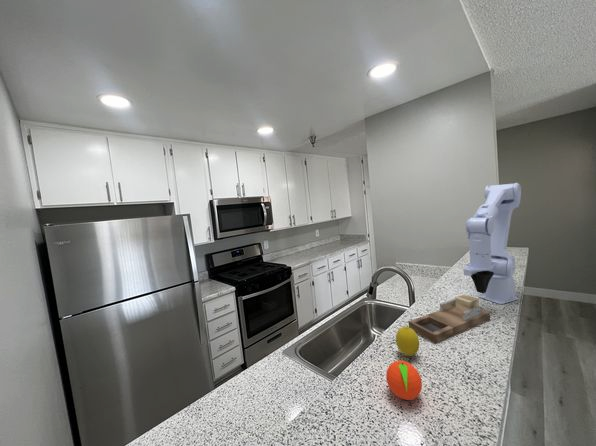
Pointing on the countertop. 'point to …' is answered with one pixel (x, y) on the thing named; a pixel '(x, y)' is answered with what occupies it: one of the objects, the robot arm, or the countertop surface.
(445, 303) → the channel walls
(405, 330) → the lemon
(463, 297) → the maple block
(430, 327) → the board
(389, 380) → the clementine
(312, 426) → the countertop surface
